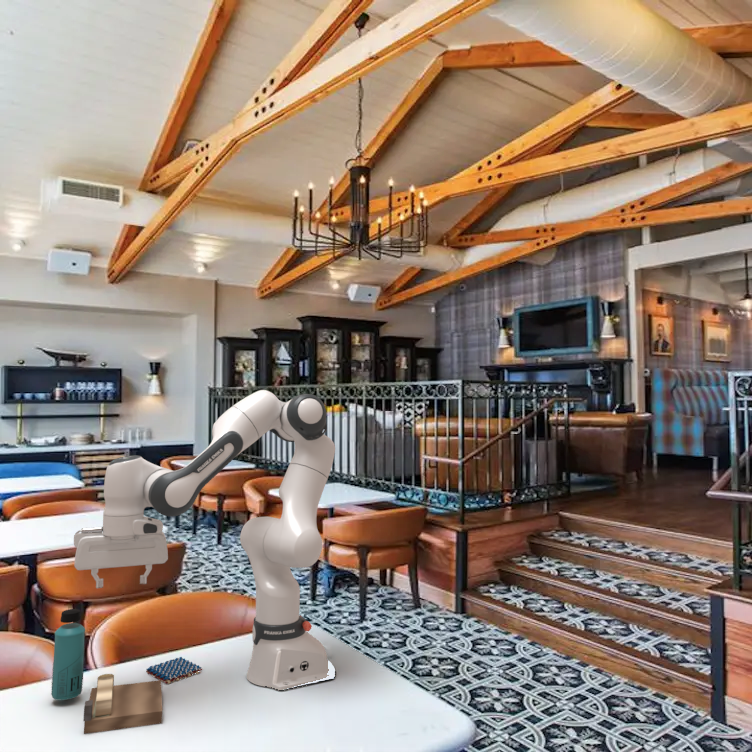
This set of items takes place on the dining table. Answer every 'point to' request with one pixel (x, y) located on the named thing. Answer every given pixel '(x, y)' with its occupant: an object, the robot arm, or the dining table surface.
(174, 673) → the woven mat
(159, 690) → the brown wooden box
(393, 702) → the dining table surface
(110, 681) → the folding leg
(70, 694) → the beverage bottle
